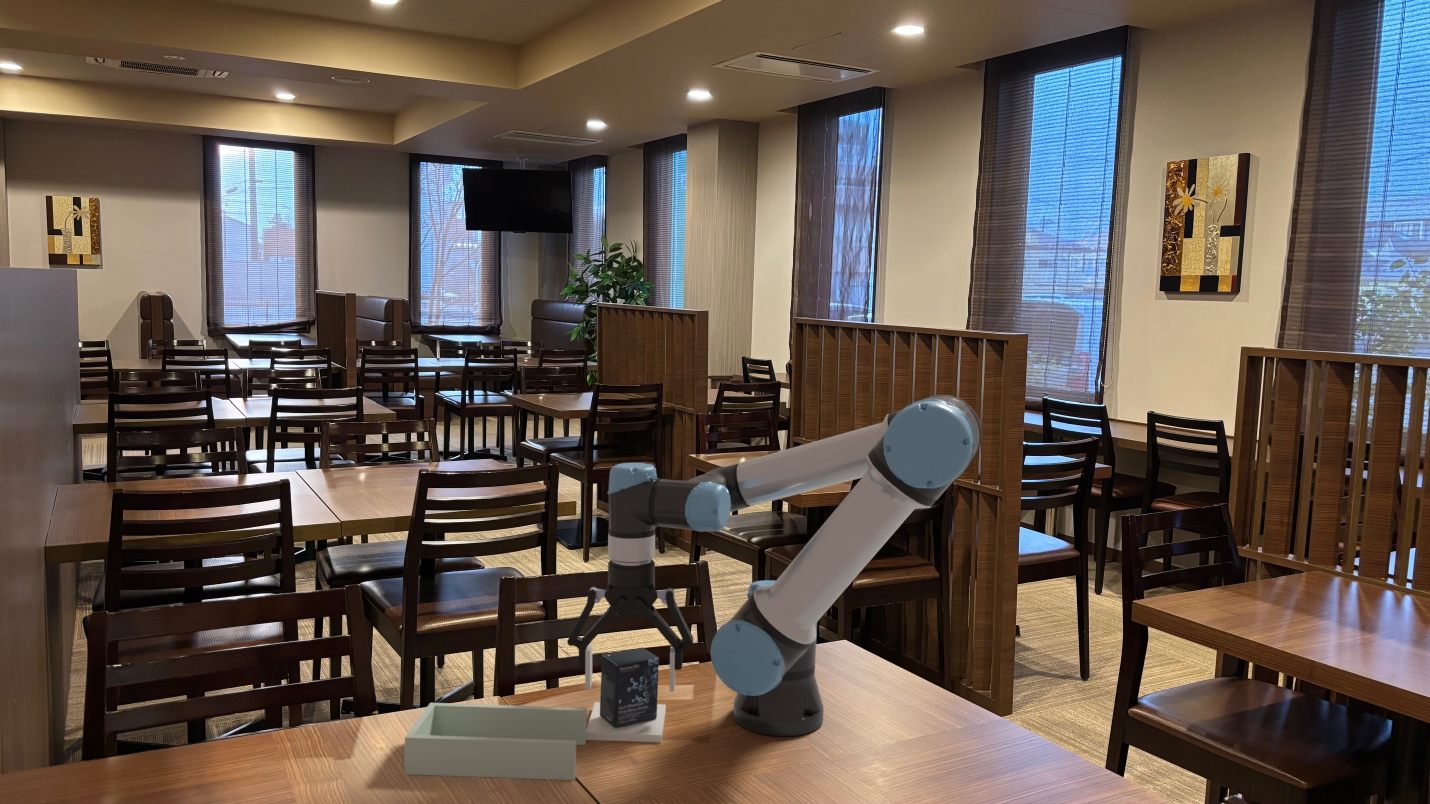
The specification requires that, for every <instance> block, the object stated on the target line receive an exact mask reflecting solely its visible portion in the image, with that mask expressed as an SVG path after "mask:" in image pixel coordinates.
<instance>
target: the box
mask: <svg viewBox="0 0 1430 804" xmlns="http://www.w3.org/2000/svg"><path fill="white" fill-rule="evenodd" d="M659 662H660V658H659V657H658V656H657V655H655V654H654V653H652V652H651V651H649V650H647V649H646V648H645V647H638V648H632V649H628V650H622V651H617V652H612V653H604V654H601V671H600V673H601V675H600V676H601V677H600V701H599V702H600V716H601V717H602V718H603V719H604V720H605V721H607V722H608V723H609V724H610V725H611V726H613V727H614V728H618V727H620V726H625V725H629V724H634V723H638V722H643V721H647V720H653V719H656V718H657V704H658V691H659V690H658V688H659V686H658V685H659V666H660V665H659V664H660V663H659Z"/></svg>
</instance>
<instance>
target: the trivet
mask: <svg viewBox="0 0 1430 804" xmlns="http://www.w3.org/2000/svg"><path fill="white" fill-rule="evenodd" d="M666 709H667V704H663V703H662V704H660V703H657V718H656V719H653V720H647V721H643V722H638V723H634V724H629V725H625V726H620V727H618V728H614V727H613V726H611V725H610V724H609V723H608V722H607V721H605V720H604V719H603V718H602V717H601V716H600V701H594V704H593V708H592V710H591V714H590V716H589V720H588V722H587V732H586V741H605V742H606V741H610V742H612V741H613V742H635V743H636V742H637V743H638V742H639V743H659V744H660V743H661V744H662V742H663V733H664V726H665V719H666Z"/></svg>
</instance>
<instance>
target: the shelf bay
mask: <svg viewBox="0 0 1430 804" xmlns="http://www.w3.org/2000/svg"><path fill="white" fill-rule="evenodd" d="M587 720H588V708H587V707H564V706H562V707H561V706H537V705H535V706H533V705H531V706H530V705H510V704H509V705H506V704H505V705H504V704H479V703H475V704H473V703H451V702H449V703H448V702H430V703H429V704H428V705H427V706H426V708H425V709H424V711H422V714H421V715H420V716H419V718H418V719H417V720H416V721H415V723H414V724H413V726H412V727H411V728H410V729H409V731H408V733H406V735H405V737H404V775H413V776H415V775H417V776H423V775H424V776H442V777H443V776H444V777H445V776H446V777H471V778H473V777H474V778H477V777H478V778H497V779H498V778H501V779H502V778H503V779H526V780H528V779H532V780H559V781H575V780H576V775H577V774H576V772H577V771H576V769H577V768H576V767H577V745H580V746H586V744H587V740H586V732H587V726H588V721H587Z"/></svg>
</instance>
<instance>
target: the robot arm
mask: <svg viewBox="0 0 1430 804" xmlns="http://www.w3.org/2000/svg"><path fill="white" fill-rule="evenodd" d="M982 435H983V433H982V424H981V421H980V418H979V416H978V415H977V413H976V411H975V410H974V409H973V408H972V406H970V405H969V404H968V403H967V402H966V401H964V400H963V399H960V398H958V397H956V396H953V395H950V394H935V395H930V396H927V397H925V398H923V399H920V400H917V401H914V402H912V403H910V404H908V405H906V406H905V407H904V408H903V409H900V410H898V411H893V412H891V413H888V414H886V415H885V417H884V419H883V421H882V422H879V423H876V424H872V425H869V426H865V427H862V428H858V429H855V430H851V431H847V432H844V433H841V434H837V435H834V436H829V437H825V438H823V439H818V440H815V441H812V442H809V443H808V442H807V443H804V444H801V445H798V446H795V447H791V448H787V449H784V450H781V451H777V452H773V453H770V454H766V455H762V456H759V457H755V458H751V459H748V460H744V461H742V462H738V463H735V464H731V465H727V466H726V465H725V466H724V465H723V466H719V467H716V468H713V469H711V470H709V471H708V472H705V473H703V474H700V475H697V476H695V477H693V478H690V479H688V480H681V479H679V480H676V479H665V478H658V474H657V469H656V467H655V466H654V465H653V464H650V463H646V462H623V463H619V464H615V465H614V466H612V467H611V468H610V471H609V478H608V479H609V480H608V491H607V495H608V532H607V533H608V534H607V535H608V536H607V538H608V539H607V542H608V543H607V553H608V554H607V557H608V558H609V559H610V560H609V561H608V563H607V587H606V589H601V588H597V586H591V587H590V588H589V590H588V593H587V598H586V599H587V600H586V604H585V605H584V608H583V610H582V612H581V614H580V616H579V618H578V619H577V621H576V623H575V624H574V627H573V629H572V631H571V633H570V635H569V637H568V639H567V641H566V642H567V645H568V646H570V647H572V646H573V647H575V648H577V649H578V668H580V669H584V672H585V673H584V675H585V677H584V678H585V679H584V681H585V682H584V683H585V684H584V685H585V688H584V690H585V691H590V690H591V688H592V685H593V645H592V644H591V642H592V641H593V640H594V639H595V638H596V637H597V636H598V635H599V634H600V633H601V632H602V631H603V629H604V628H606V626H607V624H608V623H610V621H612V619H614V617H615V616H618V617H620V618H621V619H625V618H635V619H641V617H644V616H645V618H647V620H648V621H649V622H651V623H652V625H653V626H654V627H655V628H656V629H657V630H658V632H659V633H660V634H661V635H662V636H663V638H664V639H665V640H666V641H667V643H669V645H670V650H669V651H670V652H669V692H671V693H672V692H673V693H674V692H675V687H676V671H682V668H683V651H684V650H685V649H690V648H692V647H693V646H694V637H693V635H692V632H691V631H690V628H689V626H688V624H687V622H686V620H685V618H684V616H683V613H682V612H681V610H680V608H679V606H678V605H677V602H676V598H675V597H676V596H675V590H674V588H673V587H668V588H666V589H664V590H663V589H662V590H657V588H656V573H655V572H656V563H655V561H654V558H656V527H660V528H661V527H662V528H672V529H681V530H688V531H695V532H700V533H704V532H720V531H721V530H723V529H724V528H726V525H727V522H728V521H729V518H730V516H731V515H730V513H732V512H735V511H740V510H743V509H747V508H751V507H753V506H757V505H761V504H764V503H769V502H773V501H777V500H780V499H784V498H788V497H792V496H797V495H799V494H804V493H808V492H811V491H815V490H819V489H822V488H827V487H832V486H835V485H838V484H843V483H846V482H850V481H854V480H858V479H859V481H858V482H857V483H856V485H854V486H853V488H852V489H851V490H850V492H849V493H848V494H847V495H846V497H845V498H844V499H843V500H841V502H840V504H839V505H838V506H837V507H836V508H835V509H834V511H833V512H832V513H831V514H830V516H829V517H828V518H827V519H826V521H824V523H823V524H822V525H820V528H819V529H818V530H817V531H816V532H815V534H814V535H813V536H812V537H811V538H810V539H809V541H808V542H807V543H806V544H805V546H804V547H803V548H802V549H801V550H800V551H799V553H798V554H797V555H796V556H795V558H794V559H793V560H792V561H791V562H790V564H789V565H788V566H787V567H786V568H785V569H784V571H783V572H782V573H781V574H780V575H779V576H778V578H777V579H776V580H771V579H770V580H767V579H766V580H757V581H754V582H752V583H750V584H749V586H748V593H746V596H747V600H746V601H745V602H744V603H743V604H742V605H741V606H740V608H739V609H738V610H737V611H736V612H735V613H734V615H733V616H732V617H731V618H730V619H729V621H727V622H726V623H725V624H722V625H721V626H720V627H719V628H718V630H717V631H716V633H715V635H714V637H713V638H712V641H711V645H710V654H709V655H710V658H711V665H712V668H713V670H714V672H715V674H716V676H717V677H718V679H719V680H720V682H722V683H723V684H724V685H725V686H726V687H727V688H728V689H730V690H732V691H733V692H735V693H736V695H735V698H734V701H733V711H732V712H733V719H734V720H735V722H736V723H737V724H738V725H739V726H740V727H743V728H744V729H747V731H751V732H754V733H758V734H762V735H767V736H775V737H793V736H801V735H806V734H810V733H812V732H815V731H816V730H817V729H819V728H820V727H821V726H822V724H823V723H824V710H825V709H824V704H823V700H822V696H821V693H820V689H819V686H818V682H817V679H816V671H815V670H816V658H817V657H816V654H817V651H816V650H817V636H818V635H817V634H818V633H817V630H818V622H819V620H820V619H821V618H822V617H823V616H824V615H825V614H826V612H827V611H829V609H830V607H831V606H833V604H834V603H835V602H837V601H836V600H837V599H838V598H839V597H840V596H841V595H842V594H843V593H844V592H845V590H846V589H847V588H848V587H849V585H851V583H852V582H853V581H854V580H855V579H856V578H857V576H858V575H859V574H860V573H861V572H862V571H863V569H865V567H866V566H867V565H868V564H869V563H870V561H871V560H872V559H873V558H874V557H875V555H876V554H877V553H878V552H879V551H880V550H881V549H882V548H883V546H884V545H885V544H886V543H887V542H888V540H889V539H890V538H891V537H892V536H893V535H894V534H895V532H896V531H897V530H898V529H899V528H900V527H901V525H902V524H903V523H904V521H906V520H907V518H909V516H910V515H911V514H912V513H913V512H914V510H917V509H930V508H931V507H932V506H933V505H934V504H935V502H936V501H938V499H939V498H940V497H941V496H942V494H944V492H945V491H946V490H947V489H948V488H949V487H950V486H951V485H952V483H954V481H955V480H956V479H958V478H959V477H960V476H962V474H963V473H964V472H965V470H966V469H967V468H968V467H969V465H970V464H971V461H972V460H973V459H974V457H975V456H976V455H977V453H978V451H979V450H980V449H979V448H980V446H981V443H982ZM601 599H605V600H606V601H607V603H608V605H609V606H608V608H607V609H606V611H605V612H604V613H602V615H601V616H600V617H599V619H597V621H596V622H595V623H594V624H593V625H592V627H590V629H588V630H587V632H586V633H585V634H584V636H582V637H580V636H579V635H580V634H581V632H582V630H583V628H584V626H585V624H586V623H587V620H588V618H589V617H590V614H591V613H592V611H593V609H594V606H595V604H598V603H600V602H601ZM657 599H659V600H660V601H661V603H662V604H663V605H666V607H667V610H668V613H669V614H670V616H671V619H672V620H673V622H674V625H675V626H676V628H677V631H678V632H679V634H680V637H681V638H680V637H679V636H678V634H677V633H676V632H675V631H674V630H673V628H672V627H671V626H670V625H669V624H668V623H667V621H665V619H664V618H663V617H662V616H661V615H660V613H659V611H658V610H657V608H656V607H655V606H654V604H655V603H656V602H657Z"/></svg>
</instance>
